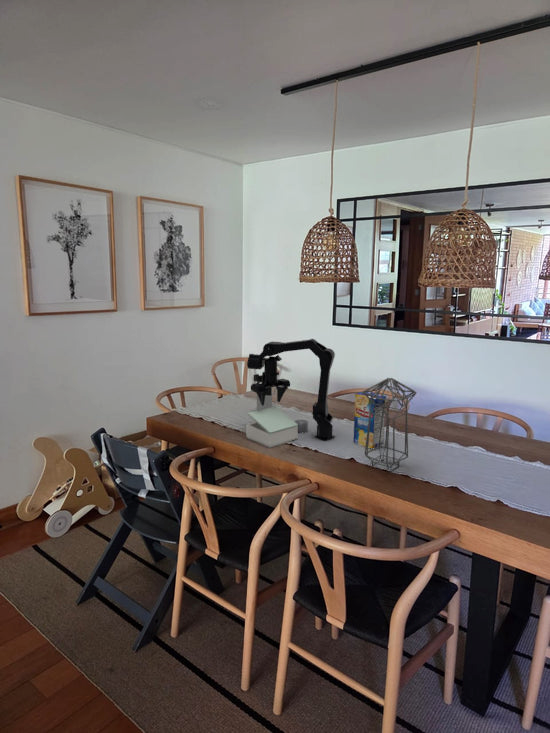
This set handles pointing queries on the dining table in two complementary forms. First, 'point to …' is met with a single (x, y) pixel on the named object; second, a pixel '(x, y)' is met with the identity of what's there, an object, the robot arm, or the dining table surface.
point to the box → (270, 435)
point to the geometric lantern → (380, 386)
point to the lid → (272, 419)
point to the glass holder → (266, 399)
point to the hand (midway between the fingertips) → (270, 403)
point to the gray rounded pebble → (302, 425)
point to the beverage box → (363, 419)
